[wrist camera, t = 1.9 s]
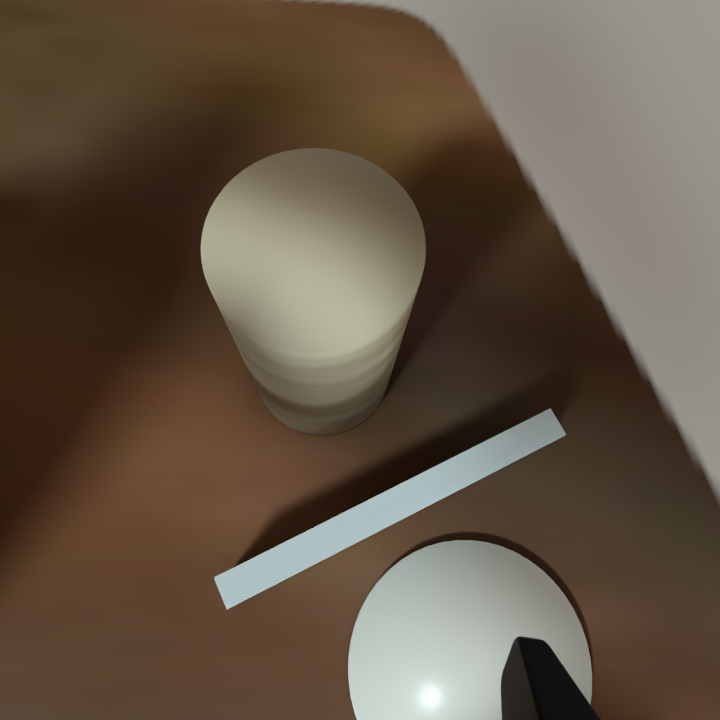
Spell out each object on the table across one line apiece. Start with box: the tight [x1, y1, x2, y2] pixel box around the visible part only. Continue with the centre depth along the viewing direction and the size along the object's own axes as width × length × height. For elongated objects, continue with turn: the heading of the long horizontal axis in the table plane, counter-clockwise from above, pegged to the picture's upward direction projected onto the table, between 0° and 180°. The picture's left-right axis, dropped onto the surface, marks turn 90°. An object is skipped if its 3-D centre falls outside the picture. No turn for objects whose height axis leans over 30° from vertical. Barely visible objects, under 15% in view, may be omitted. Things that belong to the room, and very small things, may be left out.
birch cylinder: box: [201, 148, 426, 436], centre depth 18 cm, size 5×5×10 cm
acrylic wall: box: [214, 408, 566, 609], centre depth 21 cm, size 12×1×2 cm, turn 116°
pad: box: [348, 540, 592, 720], centre depth 20 cm, size 8×8×1 cm
